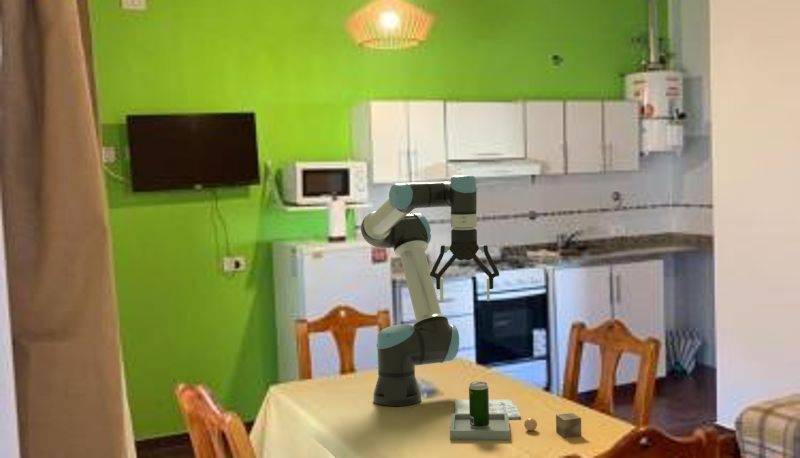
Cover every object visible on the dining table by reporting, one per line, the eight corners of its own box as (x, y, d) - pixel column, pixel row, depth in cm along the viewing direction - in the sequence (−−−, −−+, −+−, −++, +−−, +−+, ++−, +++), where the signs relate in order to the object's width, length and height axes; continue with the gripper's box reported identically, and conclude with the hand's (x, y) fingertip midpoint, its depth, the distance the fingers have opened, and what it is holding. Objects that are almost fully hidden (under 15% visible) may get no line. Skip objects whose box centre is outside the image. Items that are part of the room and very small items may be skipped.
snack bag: (455, 422, 239) (455, 415, 239) (454, 403, 259) (453, 396, 259) (521, 421, 238) (521, 414, 238) (514, 402, 258) (514, 395, 258)
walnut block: (564, 438, 220) (563, 419, 220) (556, 432, 225) (556, 414, 225) (581, 436, 222) (581, 418, 221) (573, 430, 226) (572, 412, 226)
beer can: (478, 430, 225) (477, 387, 224) (466, 425, 229) (464, 383, 228) (493, 426, 228) (492, 384, 227) (481, 422, 232) (479, 380, 231)
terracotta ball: (524, 432, 226) (524, 420, 226) (524, 428, 229) (523, 416, 229) (537, 432, 225) (537, 420, 225) (536, 428, 229) (536, 416, 229)
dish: (450, 439, 221) (449, 430, 221) (451, 421, 237) (451, 413, 237) (510, 439, 220) (509, 430, 220) (507, 421, 236) (507, 413, 236)
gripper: (420, 230, 238) (421, 302, 240) (507, 229, 235) (507, 302, 237) (422, 227, 246) (423, 298, 247) (506, 226, 243) (507, 297, 245)
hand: (464, 300), depth 242 cm, fingers open, 13 cm apart
